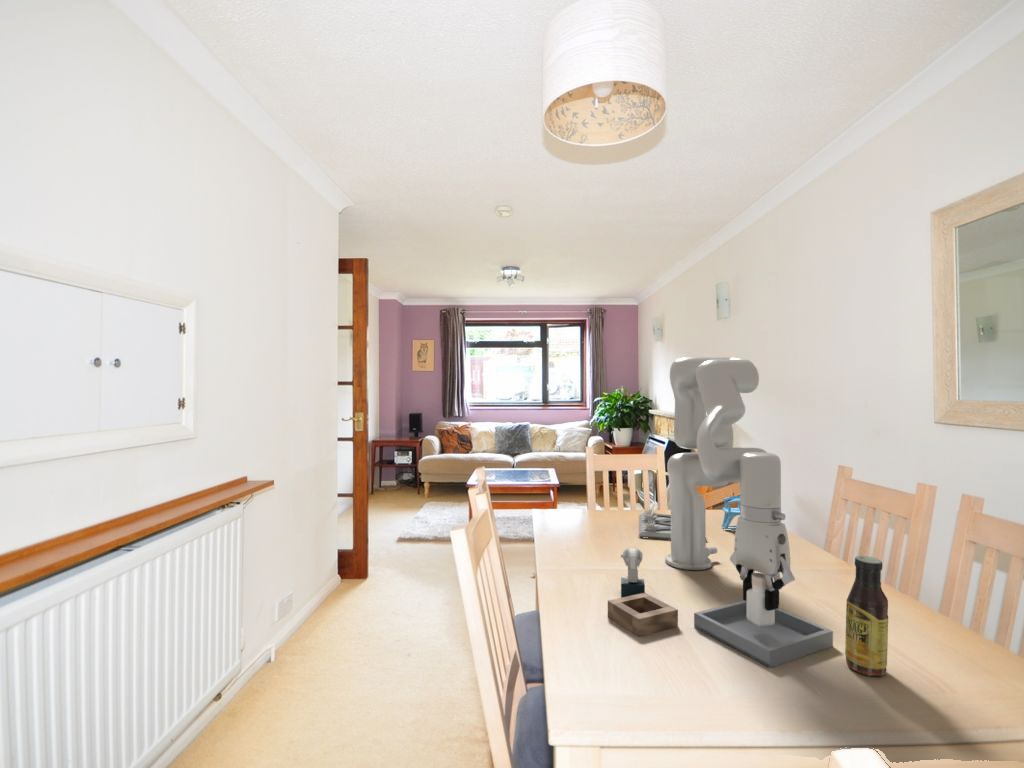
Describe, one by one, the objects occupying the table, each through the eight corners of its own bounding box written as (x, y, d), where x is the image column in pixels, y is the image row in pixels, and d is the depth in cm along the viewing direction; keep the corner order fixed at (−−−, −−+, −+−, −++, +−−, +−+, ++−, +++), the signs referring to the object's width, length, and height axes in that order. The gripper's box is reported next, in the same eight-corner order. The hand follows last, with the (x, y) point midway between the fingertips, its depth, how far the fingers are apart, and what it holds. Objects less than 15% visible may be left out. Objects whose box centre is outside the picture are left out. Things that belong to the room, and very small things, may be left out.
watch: (643, 588, 132) (643, 544, 132) (644, 601, 124) (644, 554, 124) (620, 587, 133) (620, 543, 133) (620, 599, 125) (620, 553, 125)
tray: (753, 611, 118) (753, 597, 118) (832, 646, 102) (832, 630, 102) (694, 627, 110) (694, 612, 110) (769, 668, 94) (769, 651, 94)
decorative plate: (706, 544, 171) (706, 522, 172) (639, 539, 176) (639, 518, 177) (696, 522, 201) (696, 503, 201) (638, 518, 206) (638, 500, 206)
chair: (719, 526, 192) (719, 493, 192) (743, 527, 191) (743, 494, 191) (725, 532, 184) (724, 498, 184) (750, 533, 183) (749, 498, 183)
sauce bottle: (837, 661, 97) (836, 552, 97) (869, 659, 97) (868, 551, 97) (863, 680, 90) (863, 564, 90) (898, 679, 91) (897, 563, 91)
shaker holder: (644, 607, 120) (644, 592, 120) (677, 626, 111) (677, 609, 111) (607, 616, 116) (607, 600, 116) (638, 636, 106) (638, 619, 106)
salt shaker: (759, 628, 104) (759, 579, 104) (745, 619, 108) (745, 573, 108) (776, 625, 105) (775, 577, 105) (761, 617, 109) (761, 571, 109)
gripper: (811, 521, 101) (812, 617, 101) (738, 504, 116) (739, 587, 116) (785, 525, 97) (786, 624, 97) (714, 507, 113) (714, 593, 112)
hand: (760, 603), depth 106 cm, fingers closed on salt shaker, 4 cm apart
